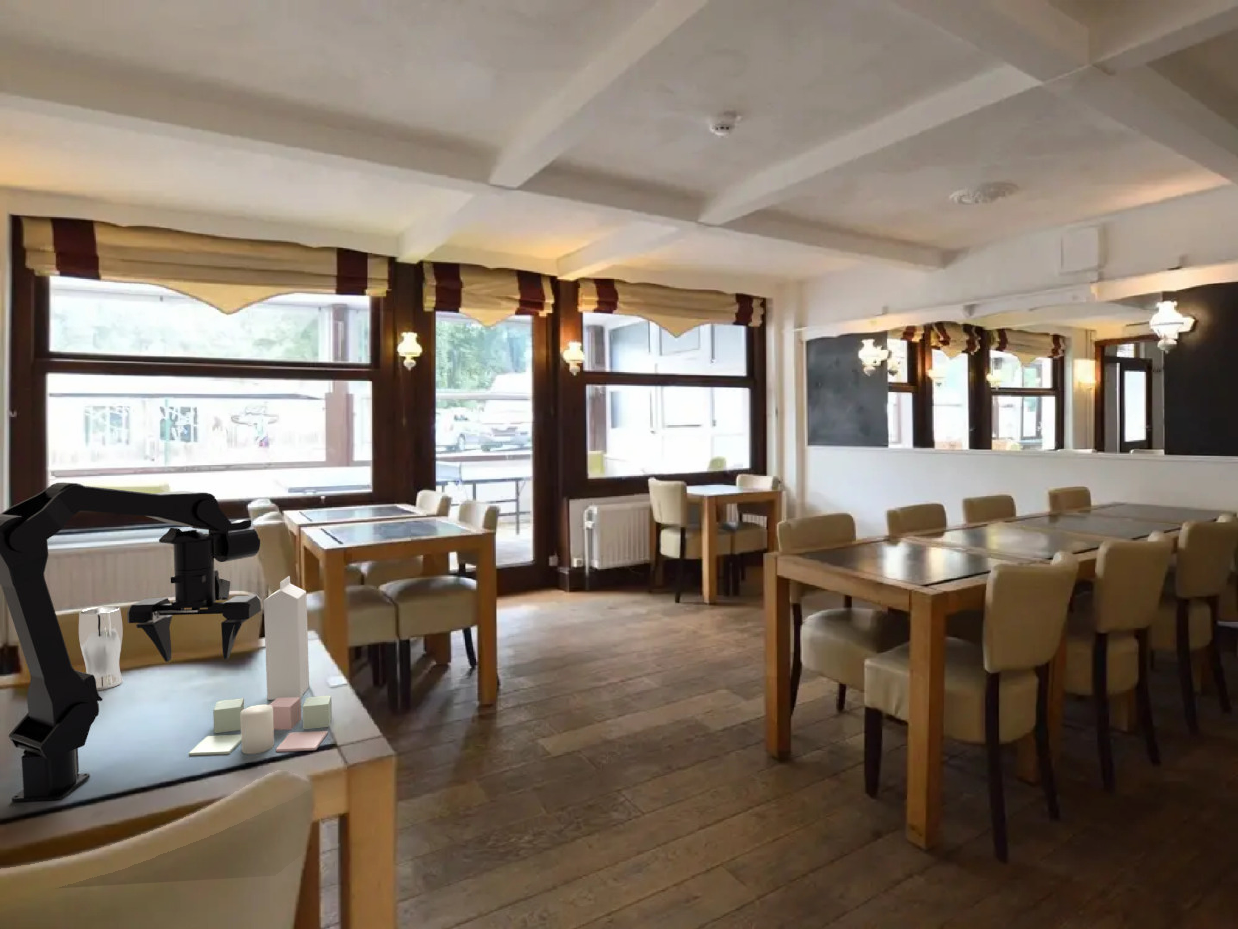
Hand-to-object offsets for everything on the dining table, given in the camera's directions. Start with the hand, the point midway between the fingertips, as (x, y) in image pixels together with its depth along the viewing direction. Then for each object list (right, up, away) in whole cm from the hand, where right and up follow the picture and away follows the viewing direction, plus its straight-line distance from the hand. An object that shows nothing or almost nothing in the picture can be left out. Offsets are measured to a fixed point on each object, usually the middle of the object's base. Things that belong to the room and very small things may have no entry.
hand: (197, 660), depth 120 cm
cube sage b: (+4, -12, +2) cm, 13 cm away
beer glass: (-31, -11, +21) cm, 39 cm away
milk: (+7, -11, +17) cm, 22 cm away
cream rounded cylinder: (+13, -12, -6) cm, 19 cm away
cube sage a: (+19, -12, +3) cm, 22 cm away
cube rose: (+13, -12, +3) cm, 18 cm away
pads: (+13, -12, -5) cm, 18 cm away
